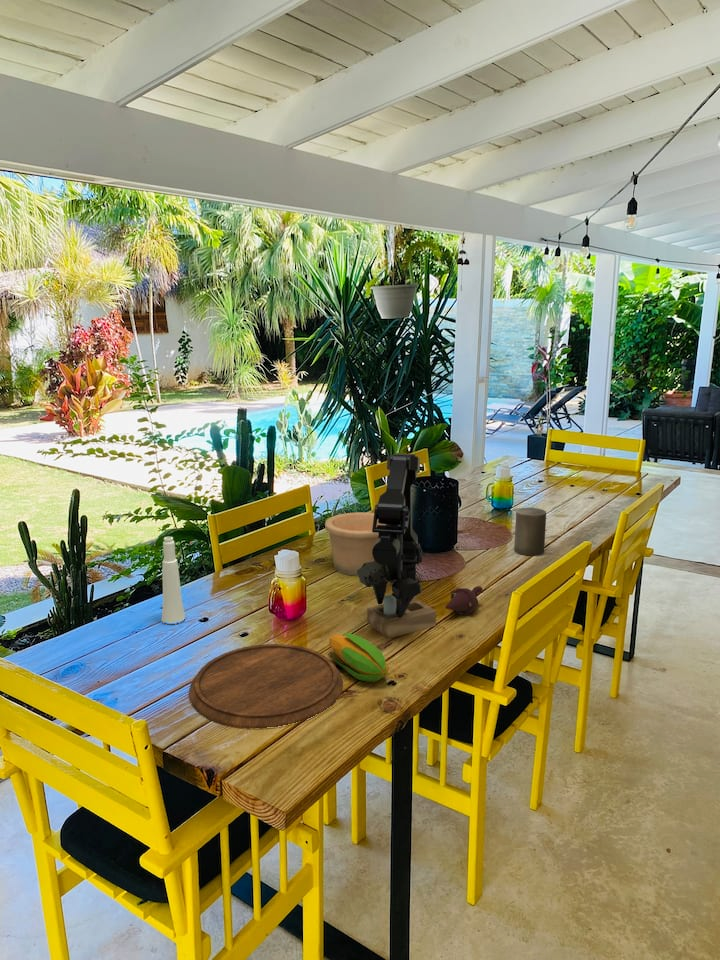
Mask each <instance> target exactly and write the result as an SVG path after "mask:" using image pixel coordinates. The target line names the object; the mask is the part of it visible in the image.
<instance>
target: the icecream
mask: <svg viewBox="0 0 720 960" xmlns="http://www.w3.org/2000/svg"><path fill="white" fill-rule="evenodd" d="M482 592H483V587H482V586H480V585H477V586H474V587H473V589H472V590H471V589H469V588H467V587H466V588H461V587H459V588H455V590H453V591H451V593H450V600H449V602H448V603H447V604H446V605H445V609H447V610H452V611H456V612H457V614H461V615H464V616H468V614H470V613H472V612H473V611H474V610H475V608H476V606H477V605H478V604H479V600H478V597H477V596H478V595H480V594H481V593H482Z"/></svg>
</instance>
